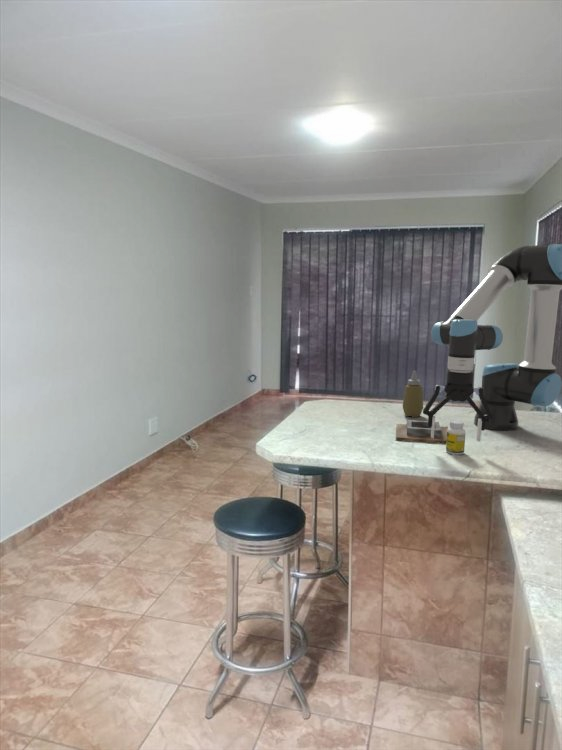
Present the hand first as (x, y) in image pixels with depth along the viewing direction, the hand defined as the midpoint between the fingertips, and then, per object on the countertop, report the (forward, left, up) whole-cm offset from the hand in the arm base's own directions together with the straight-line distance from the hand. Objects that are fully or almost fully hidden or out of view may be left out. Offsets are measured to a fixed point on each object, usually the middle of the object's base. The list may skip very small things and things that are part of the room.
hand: (455, 438), depth 165 cm
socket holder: (+9, -18, -4) cm, 21 cm away
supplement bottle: (0, 0, -5) cm, 5 cm away
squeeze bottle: (+12, -45, -5) cm, 47 cm away
